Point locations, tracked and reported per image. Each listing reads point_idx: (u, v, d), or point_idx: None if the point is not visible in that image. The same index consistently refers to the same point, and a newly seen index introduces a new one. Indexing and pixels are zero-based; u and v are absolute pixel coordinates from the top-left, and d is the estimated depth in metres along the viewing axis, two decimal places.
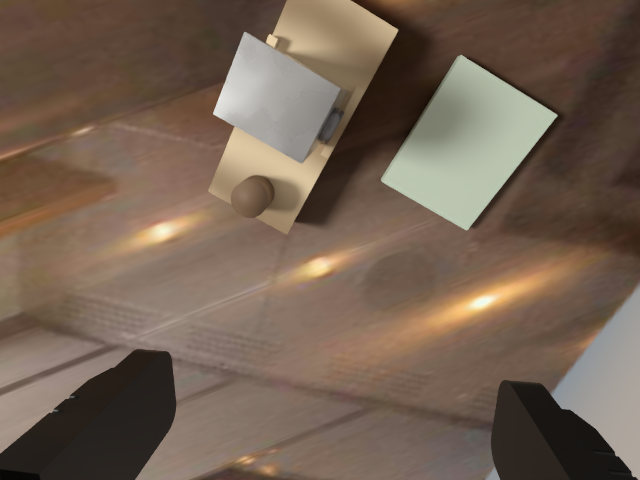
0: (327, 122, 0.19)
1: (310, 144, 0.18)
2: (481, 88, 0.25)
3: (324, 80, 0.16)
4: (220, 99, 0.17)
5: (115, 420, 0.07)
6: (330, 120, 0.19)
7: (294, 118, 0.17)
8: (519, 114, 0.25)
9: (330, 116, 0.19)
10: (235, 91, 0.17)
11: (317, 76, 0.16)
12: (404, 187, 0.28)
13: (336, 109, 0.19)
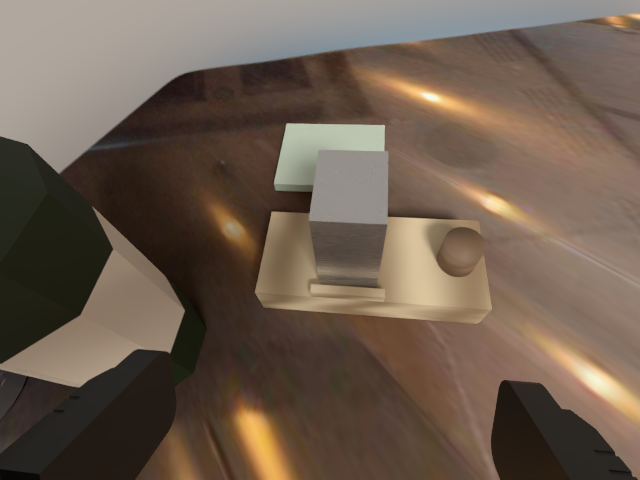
0: None
1: (369, 151, 0.20)
2: (288, 164, 0.34)
3: (318, 160, 0.20)
4: (371, 222, 0.18)
5: (115, 421, 0.07)
6: None
7: (355, 168, 0.20)
8: (295, 139, 0.35)
9: None
10: (358, 213, 0.18)
11: (317, 165, 0.20)
12: None
13: None
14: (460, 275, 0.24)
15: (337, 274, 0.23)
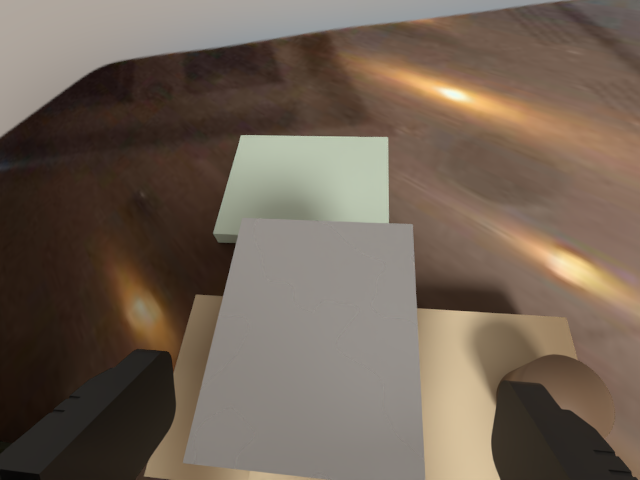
0: None
1: (365, 225, 0.08)
2: (239, 200, 0.22)
3: (237, 248, 0.08)
4: (374, 479, 0.06)
5: (114, 421, 0.07)
6: None
7: (330, 273, 0.08)
8: (252, 159, 0.23)
9: None
10: (333, 437, 0.06)
11: (234, 262, 0.08)
12: (380, 214, 0.20)
13: None
14: None
15: None
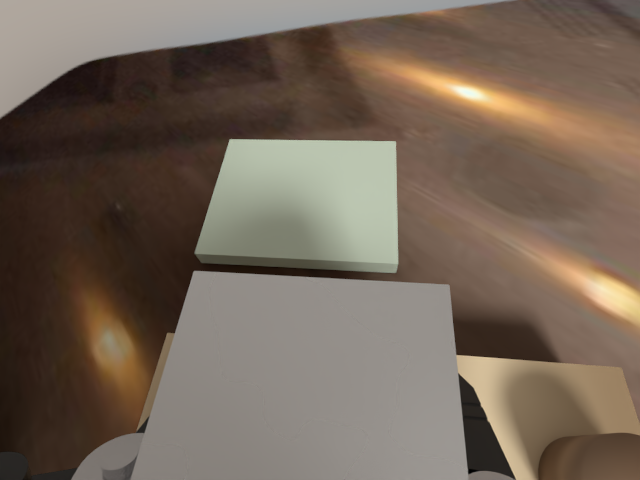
0: None
1: (376, 285, 0.05)
2: (225, 214, 0.19)
3: (183, 321, 0.05)
4: None
5: None
6: None
7: (323, 368, 0.05)
8: (241, 167, 0.20)
9: None
10: None
11: (175, 345, 0.05)
12: (387, 231, 0.18)
13: None
14: None
15: None
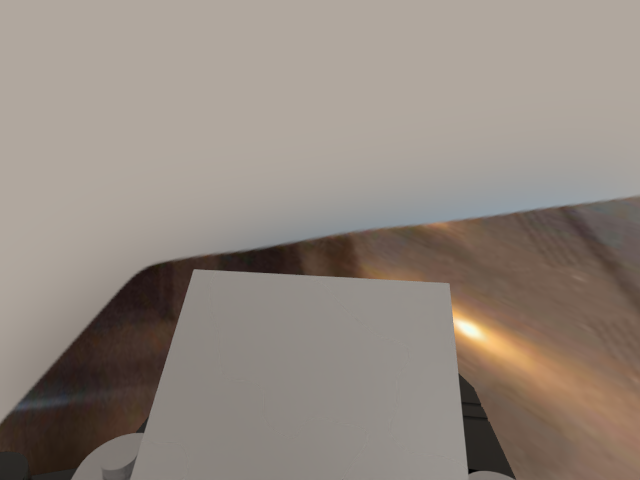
0: None
1: (376, 283, 0.05)
2: None
3: (183, 320, 0.05)
4: None
5: None
6: None
7: (323, 366, 0.05)
8: None
9: None
10: None
11: (175, 344, 0.05)
12: None
13: None
14: None
15: None
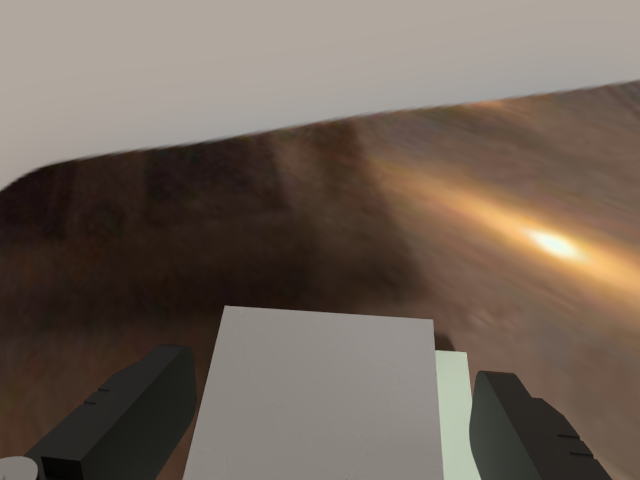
0: None
1: (374, 319, 0.07)
2: None
3: (218, 349, 0.07)
4: None
5: (144, 412, 0.07)
6: None
7: (332, 388, 0.06)
8: None
9: None
10: None
11: (213, 369, 0.06)
12: None
13: None
14: None
15: None
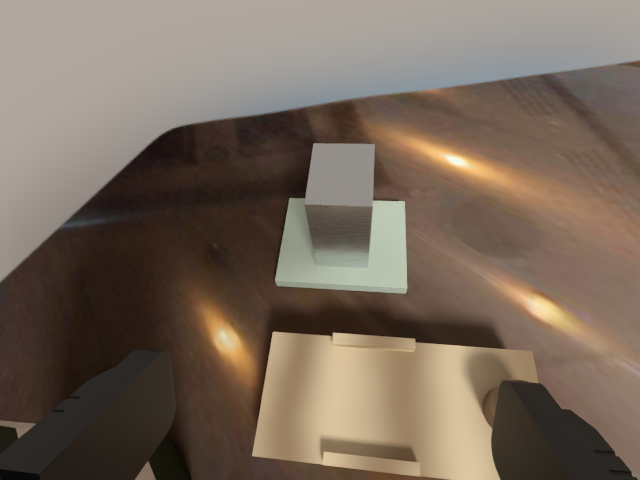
0: None
1: (357, 144, 0.23)
2: (292, 253, 0.28)
3: (313, 152, 0.23)
4: (358, 205, 0.21)
5: (114, 421, 0.07)
6: None
7: (346, 158, 0.22)
8: (299, 219, 0.30)
9: None
10: (347, 197, 0.21)
11: (312, 156, 0.23)
12: (400, 266, 0.27)
13: None
14: None
15: (332, 255, 0.26)
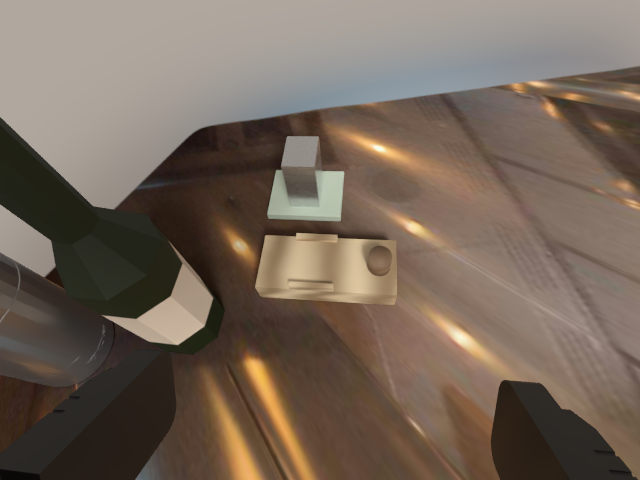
0: None
1: None
2: (277, 200, 0.49)
3: (286, 141, 0.44)
4: (307, 166, 0.42)
5: (115, 421, 0.07)
6: None
7: (303, 144, 0.43)
8: (281, 181, 0.51)
9: None
10: (302, 162, 0.42)
11: (286, 143, 0.44)
12: (337, 206, 0.48)
13: None
14: (380, 275, 0.40)
15: (298, 198, 0.47)
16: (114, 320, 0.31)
